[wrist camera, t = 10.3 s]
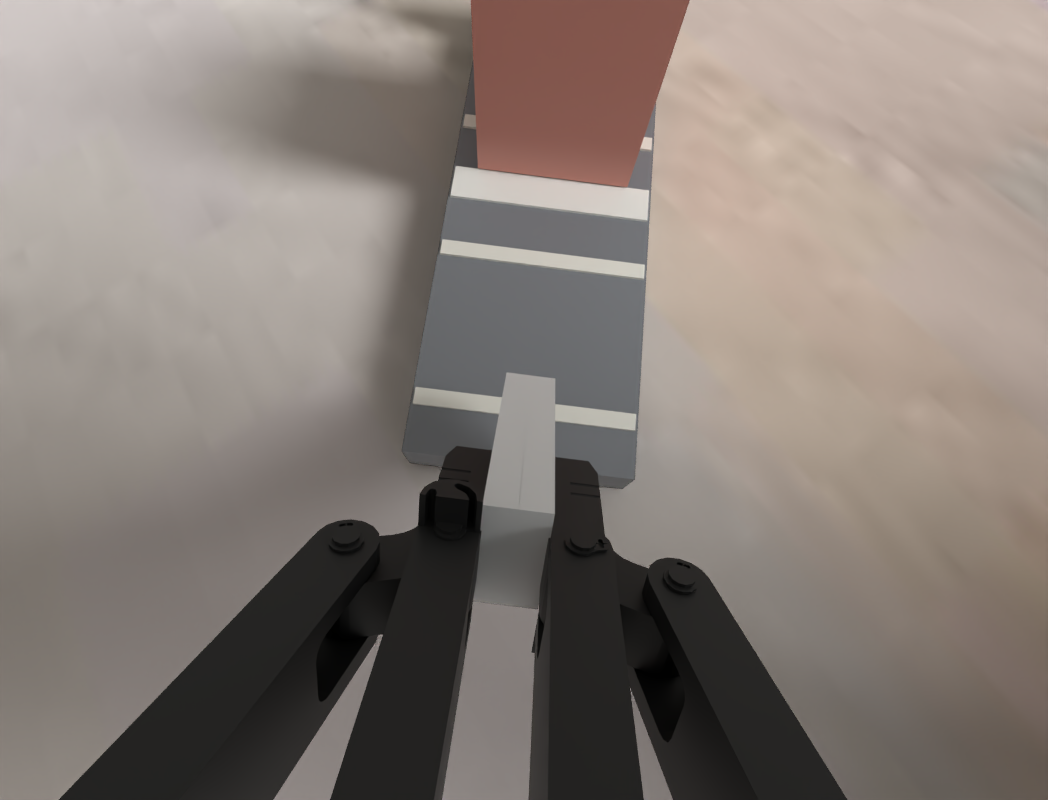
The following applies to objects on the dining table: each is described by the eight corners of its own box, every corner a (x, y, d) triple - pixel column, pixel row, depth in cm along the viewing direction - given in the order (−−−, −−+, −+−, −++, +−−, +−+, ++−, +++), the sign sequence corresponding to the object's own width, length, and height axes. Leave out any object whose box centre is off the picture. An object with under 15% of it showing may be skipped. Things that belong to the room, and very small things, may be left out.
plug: (627, 187, 23) (719, -89, 14) (478, 168, 23) (465, -123, 14) (635, 70, 25) (721, -244, 16) (496, 53, 25) (498, -275, 15)
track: (622, 488, 22) (660, 460, 17) (410, 462, 22) (384, 426, 17) (650, 42, 28) (683, -72, 24) (487, 21, 28) (486, -98, 23)
